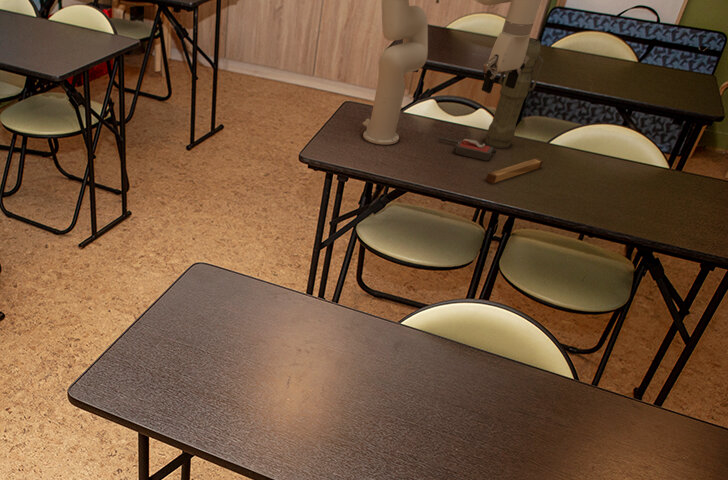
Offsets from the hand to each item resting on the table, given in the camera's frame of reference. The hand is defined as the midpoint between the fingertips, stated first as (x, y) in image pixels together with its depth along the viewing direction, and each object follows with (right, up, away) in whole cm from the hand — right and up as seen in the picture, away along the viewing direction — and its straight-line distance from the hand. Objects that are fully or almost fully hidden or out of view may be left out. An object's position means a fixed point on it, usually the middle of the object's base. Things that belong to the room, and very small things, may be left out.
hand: (497, 89), depth 205 cm
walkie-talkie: (+4, -8, +35) cm, 36 cm away
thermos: (+18, -4, +41) cm, 45 cm away
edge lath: (+15, -20, +21) cm, 33 cm away
